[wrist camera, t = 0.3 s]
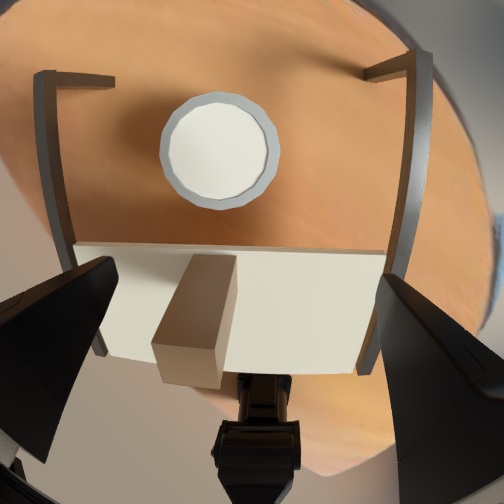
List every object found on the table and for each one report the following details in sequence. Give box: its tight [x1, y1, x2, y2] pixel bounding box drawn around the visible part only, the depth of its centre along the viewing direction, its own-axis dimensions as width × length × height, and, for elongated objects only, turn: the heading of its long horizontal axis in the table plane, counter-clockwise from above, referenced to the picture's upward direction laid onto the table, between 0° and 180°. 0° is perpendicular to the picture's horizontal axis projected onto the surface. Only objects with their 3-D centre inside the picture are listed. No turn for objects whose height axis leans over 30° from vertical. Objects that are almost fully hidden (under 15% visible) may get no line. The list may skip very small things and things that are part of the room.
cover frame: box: [33, 48, 433, 376], centre depth 19 cm, size 22×22×9 cm
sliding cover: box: [73, 242, 387, 390], centre depth 15 cm, size 10×19×8 cm, turn 90°
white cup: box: [159, 91, 281, 210], centre depth 18 cm, size 7×7×7 cm
